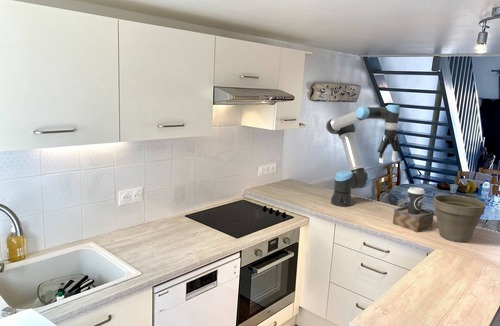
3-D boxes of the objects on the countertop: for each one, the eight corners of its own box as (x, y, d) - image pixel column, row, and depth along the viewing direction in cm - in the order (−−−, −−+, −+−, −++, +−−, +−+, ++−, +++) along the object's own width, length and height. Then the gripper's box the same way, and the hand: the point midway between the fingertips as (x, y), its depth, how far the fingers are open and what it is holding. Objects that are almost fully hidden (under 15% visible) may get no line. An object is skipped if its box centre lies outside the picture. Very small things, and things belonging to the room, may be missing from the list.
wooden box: (392, 223, 220) (394, 209, 219) (407, 219, 229) (409, 205, 228) (417, 232, 208) (419, 217, 206) (432, 227, 217) (434, 212, 215)
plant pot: (421, 235, 203) (425, 198, 199) (439, 225, 219) (444, 191, 215) (469, 250, 185) (476, 210, 180) (486, 239, 200) (492, 202, 196)
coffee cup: (419, 210, 221) (422, 187, 218) (424, 215, 212) (428, 191, 209) (402, 209, 222) (405, 186, 219) (408, 214, 213) (410, 190, 210)
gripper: (384, 130, 219) (380, 164, 223) (407, 129, 233) (403, 161, 237) (373, 129, 225) (370, 162, 229) (397, 128, 239) (393, 159, 243)
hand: (387, 162), depth 233 cm, fingers open, 13 cm apart
